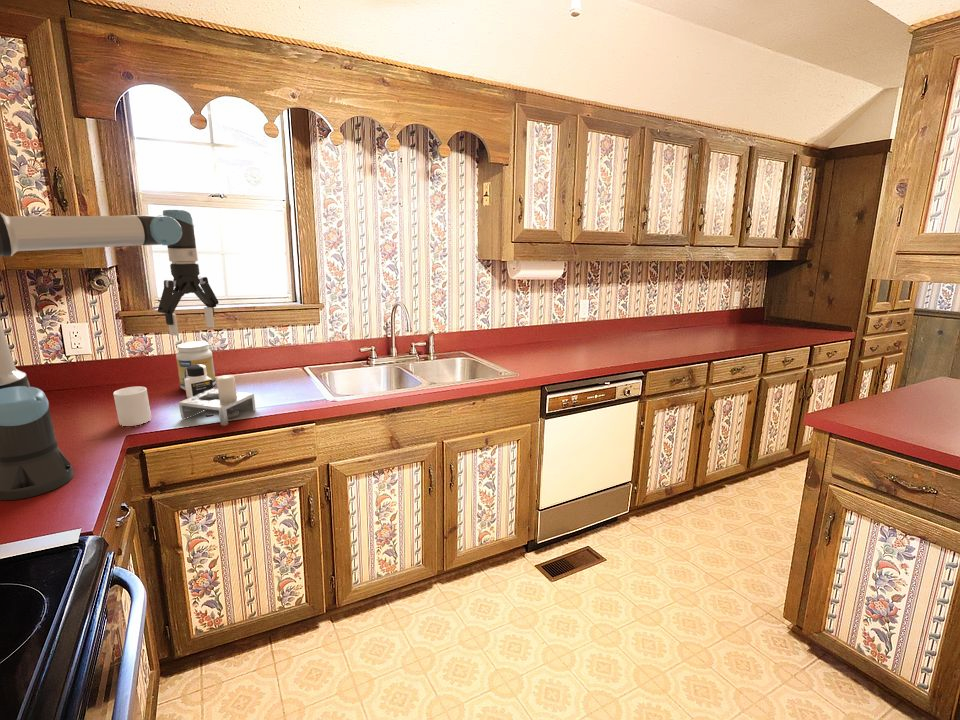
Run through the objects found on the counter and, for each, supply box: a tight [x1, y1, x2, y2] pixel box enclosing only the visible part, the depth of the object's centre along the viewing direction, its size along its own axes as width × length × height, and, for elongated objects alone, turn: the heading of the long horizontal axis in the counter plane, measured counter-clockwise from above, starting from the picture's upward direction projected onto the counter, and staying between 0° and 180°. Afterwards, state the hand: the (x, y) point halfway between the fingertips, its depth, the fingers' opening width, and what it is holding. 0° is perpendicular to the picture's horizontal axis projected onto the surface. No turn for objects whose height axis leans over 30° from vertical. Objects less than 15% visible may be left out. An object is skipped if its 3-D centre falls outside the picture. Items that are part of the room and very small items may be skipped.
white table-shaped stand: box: [178, 388, 256, 427], centre depth 164 cm, size 14×17×6 cm
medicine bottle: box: [184, 364, 214, 399], centre depth 180 cm, size 7×7×12 cm
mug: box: [112, 386, 152, 427], centre depth 158 cm, size 9×12×11 cm
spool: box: [215, 374, 240, 419], centre depth 162 cm, size 5×5×13 cm
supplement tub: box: [175, 341, 217, 391], centre depth 190 cm, size 12×12×17 cm
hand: (193, 331), depth 157 cm, fingers open, 13 cm apart
